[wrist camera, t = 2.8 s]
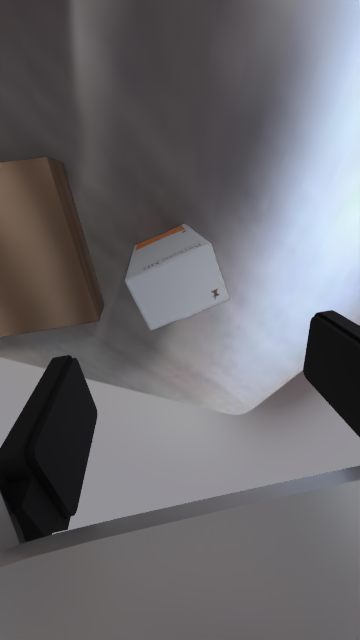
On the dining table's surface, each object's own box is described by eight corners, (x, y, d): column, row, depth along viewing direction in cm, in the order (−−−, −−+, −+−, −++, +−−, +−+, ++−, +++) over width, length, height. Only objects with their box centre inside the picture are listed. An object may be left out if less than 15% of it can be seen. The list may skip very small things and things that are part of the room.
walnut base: (62, 163, 21) (46, 156, 18) (104, 305, 28) (98, 321, 24) (-104, 183, 20) (-156, 180, 17) (-20, 324, 27) (-45, 344, 24)
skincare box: (185, 221, 25) (214, 241, 14) (198, 259, 27) (232, 301, 16) (131, 244, 25) (122, 280, 15) (148, 280, 27) (151, 334, 17)
